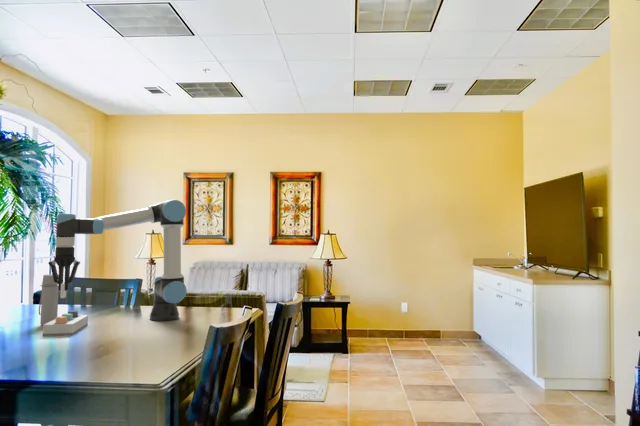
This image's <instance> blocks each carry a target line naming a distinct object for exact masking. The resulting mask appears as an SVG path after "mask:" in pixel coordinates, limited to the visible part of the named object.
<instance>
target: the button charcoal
mask: <svg viewBox="0 0 640 426" xmlns="http://www.w3.org/2000/svg"><path fill="white" fill-rule="evenodd" d="M67 314H73V317H72V318H77V317H78V315H79V310H70V311H67Z"/></svg>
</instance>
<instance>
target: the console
mask: <svg viewBox="0 0 640 426" xmlns="http://www.w3.org/2000/svg"><path fill="white" fill-rule="evenodd" d="M60 317H62V315H61V316H60ZM88 322H89V315H88V314H85V315H83V314H82V315H79V314H78V317H77V318H72V321H67V323H66V324H55V323H56V319H54V320H52V321H50V322H48V323H46V324H44V325H43V326H42V337H49V336H50V337H54V336H55V337H56V336H58V337H59V336H73V335H74V334H76V333H78V332H79V331H81V330H83V329H84V328H86V327H87V326H88V325H89V324H88Z"/></svg>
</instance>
